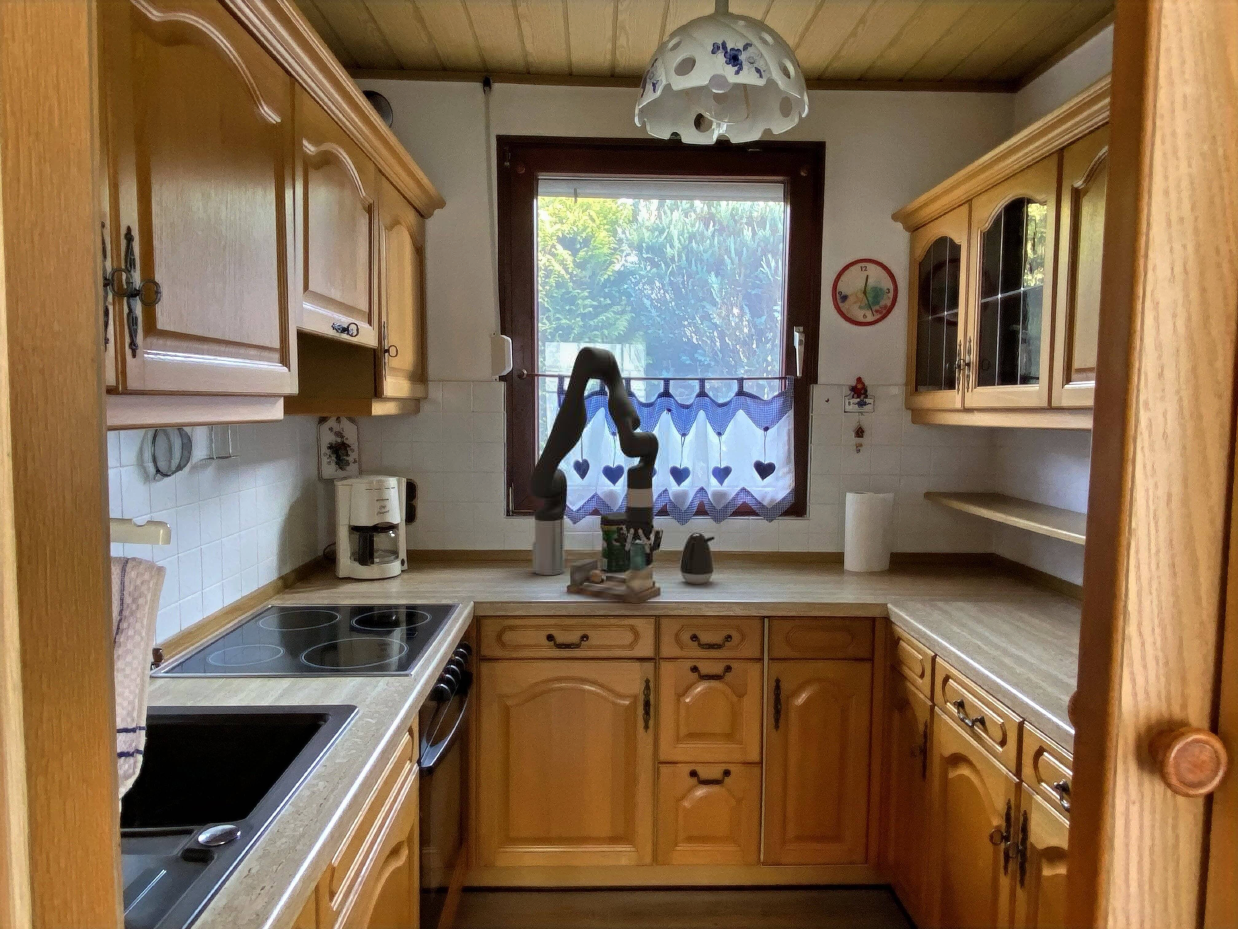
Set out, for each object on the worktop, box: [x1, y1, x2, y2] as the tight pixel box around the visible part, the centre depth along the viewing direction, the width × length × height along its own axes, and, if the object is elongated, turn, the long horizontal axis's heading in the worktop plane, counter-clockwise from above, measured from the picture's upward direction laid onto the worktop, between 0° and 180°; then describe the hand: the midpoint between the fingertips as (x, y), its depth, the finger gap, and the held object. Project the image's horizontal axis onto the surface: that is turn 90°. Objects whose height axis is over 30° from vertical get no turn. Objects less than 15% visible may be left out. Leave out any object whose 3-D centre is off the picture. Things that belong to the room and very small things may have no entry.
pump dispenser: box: [679, 532, 715, 585], centre depth 233 cm, size 10×10×15 cm
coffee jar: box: [599, 512, 630, 573], centre depth 250 cm, size 10×8×19 cm
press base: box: [566, 557, 662, 605], centre depth 220 cm, size 24×13×8 cm, turn 59°
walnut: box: [588, 569, 603, 584], centre depth 223 cm, size 4×4×4 cm
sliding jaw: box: [625, 541, 654, 594], centre depth 215 cm, size 3×10×13 cm, turn 149°
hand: (639, 564), depth 215 cm, fingers open, 5 cm apart
